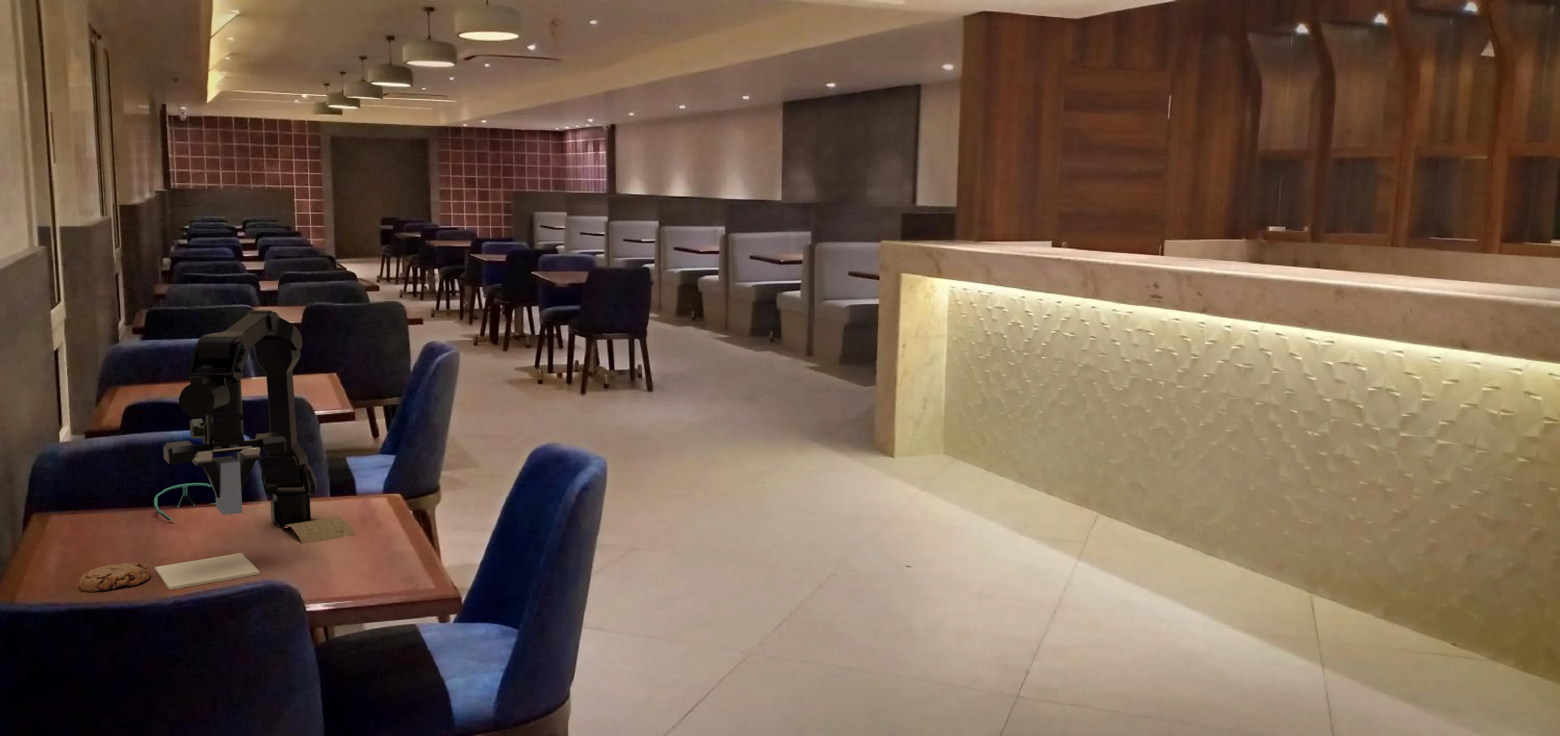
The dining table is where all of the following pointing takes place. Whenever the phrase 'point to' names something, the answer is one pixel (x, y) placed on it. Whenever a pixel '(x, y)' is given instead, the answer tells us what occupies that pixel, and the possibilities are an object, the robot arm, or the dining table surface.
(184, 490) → the sunglasses
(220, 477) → the blue-grey block
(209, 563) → the placemat
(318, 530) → the clay tablet
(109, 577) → the cookie
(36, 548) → the dining table surface
